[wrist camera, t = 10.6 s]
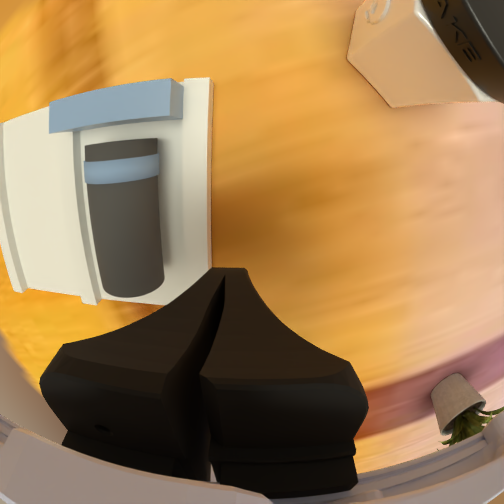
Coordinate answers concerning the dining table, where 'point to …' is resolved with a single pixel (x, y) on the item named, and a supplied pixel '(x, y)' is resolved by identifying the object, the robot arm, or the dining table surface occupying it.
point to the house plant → (459, 409)
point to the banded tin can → (125, 215)
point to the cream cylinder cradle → (75, 189)
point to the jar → (430, 50)
